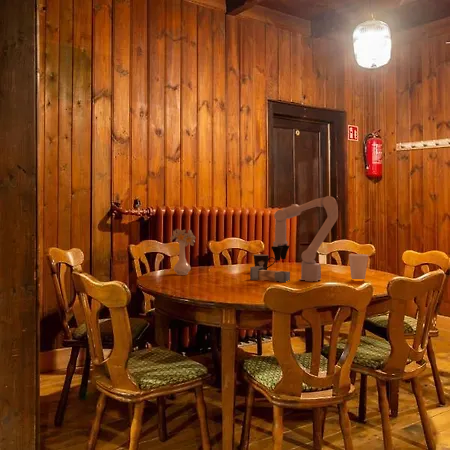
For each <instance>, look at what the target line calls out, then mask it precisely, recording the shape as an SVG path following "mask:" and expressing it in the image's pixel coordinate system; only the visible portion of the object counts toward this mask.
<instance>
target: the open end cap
mask: <svg viewBox="0 0 450 450" xmlns="http://www.w3.org/2000/svg"><path fill="white" fill-rule="evenodd" d="M280 271H281V273H278V272H275V281H279V282H278V283H284V282H285V283H287V282H286V281H288V280H290V281H291V271H288V270H287V271H285V270H280ZM275 281H274V282H275ZM288 282H289V281H288Z"/></svg>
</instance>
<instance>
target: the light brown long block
mask: <svg viewBox="0 0 450 450" xmlns="http://www.w3.org/2000/svg"><path fill="white" fill-rule="evenodd" d="M281 271H282V270H271V269H270V270H269V269H267V270H259V280H258V281H264V280H269V281H268V282H275V272H278V273H281Z"/></svg>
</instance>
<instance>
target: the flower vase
mask: <svg viewBox="0 0 450 450" xmlns="http://www.w3.org/2000/svg"><path fill="white" fill-rule="evenodd" d="M186 232H187V233H186ZM169 239H170V241H169V242H172V241H173V240H175V242H176V243H178V246H179V249H178V250H179V251H178V253H179V256H178V260H177V262H176V263H175V264H174V266H173V271H174V272H175V273H176V275H177V276H187V275H188V274H189V272H190V271H191V269H192V268H191V265H190V264H189V263H188V261H187V259H186V247H187V246H189V245H190V246H192V247H194V245H195V244H194V243H196V241H195V240H196V239H197V237H196V236H195V235H194V233H193V232H192V229H188V230H187V231H186V229H183V230H182V229H180V228H176V229H174V230H173V231H172V235H171V236H170V238H169Z"/></svg>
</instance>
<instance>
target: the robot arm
mask: <svg viewBox="0 0 450 450" xmlns="http://www.w3.org/2000/svg"><path fill="white" fill-rule="evenodd" d="M338 206H339V204H338V202H337V200H336V198H335V197H333V196H330V195H326V196H325V197H320V198H315V199H312V200H311V201H308V202H305V203H303V204H301V205H299V204H297V203H295V204H294V203H292V204H290V206H287V207H282V209H277V211H275V212H274V219H275V220H274V222H275V224H274V241H273V242H272V246H271V250H272V252H273V255H274V258H275V262H276V261H279V262H280V261H281V260H286V258H287V256H288V255H287V254H288V251H289V249H290V247H291V246H290V245H289V244H288V241H287V219H288V220H289V219H292V218H294V217H298V216H300V215H301V214H302V212H304V211H306V210H309V209H312V208H316V207H319V208H324V209H325V213H326V215H327V217H326V218H325V221H324V222H323V223H322V226H321V227H319V228H320V229H319V230H318V231H317V232H316V235H315V236H314V237H313V240H311V243H310V244H309V245H308V247H307V248H306V249H305V250H304V251H302V253H301V255H300V256H301V260H302V261H301V264H300V265H301V267H300V268H301V269H300V270H301V276H300V278H299V279H298V281H300V280H305V281H304V282H313V281H317V282H319V281H318V280H320V279H321V280H322V266H321V264H320V263H317V261H316V260H315V259H316V257H317V252H318V251H319V249H320V247H321V246H322V243H323V242H324V241H325V239H326V238H327V236H328V234H329V233H330V232H331V230H332V229H333V226H335V224H336V223H337V220H339V219H338V218H339V210H338V209H339V207H338ZM321 280H320V281H321Z"/></svg>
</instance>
